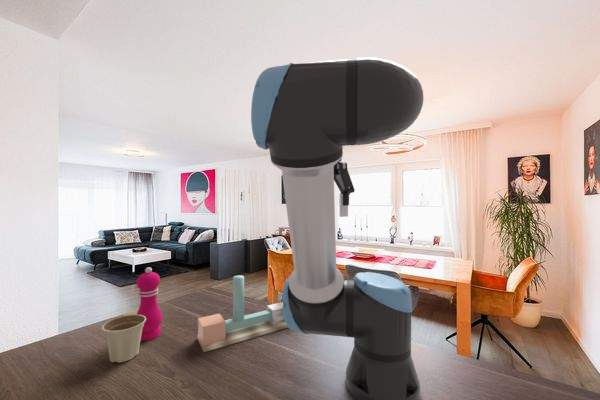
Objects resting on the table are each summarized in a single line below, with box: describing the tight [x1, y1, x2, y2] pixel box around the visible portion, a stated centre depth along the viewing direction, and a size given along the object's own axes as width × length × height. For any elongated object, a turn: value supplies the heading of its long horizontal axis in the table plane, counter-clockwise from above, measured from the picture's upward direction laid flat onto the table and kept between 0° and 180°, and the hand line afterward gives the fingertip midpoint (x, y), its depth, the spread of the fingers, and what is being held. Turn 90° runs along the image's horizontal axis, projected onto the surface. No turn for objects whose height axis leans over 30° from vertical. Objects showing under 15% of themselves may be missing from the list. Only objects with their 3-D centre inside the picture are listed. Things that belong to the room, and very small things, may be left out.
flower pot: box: [101, 314, 146, 364], centre depth 68 cm, size 9×9×9 cm
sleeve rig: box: [196, 301, 289, 353], centre depth 81 cm, size 30×8×6 cm, turn 122°
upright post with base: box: [224, 275, 272, 333], centre depth 80 cm, size 21×3×15 cm, turn 122°
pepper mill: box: [135, 266, 163, 342], centre depth 78 cm, size 7×7×20 cm
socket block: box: [197, 313, 226, 346], centre depth 75 cm, size 6×6×5 cm
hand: (329, 215), depth 86 cm, fingers open, 13 cm apart
